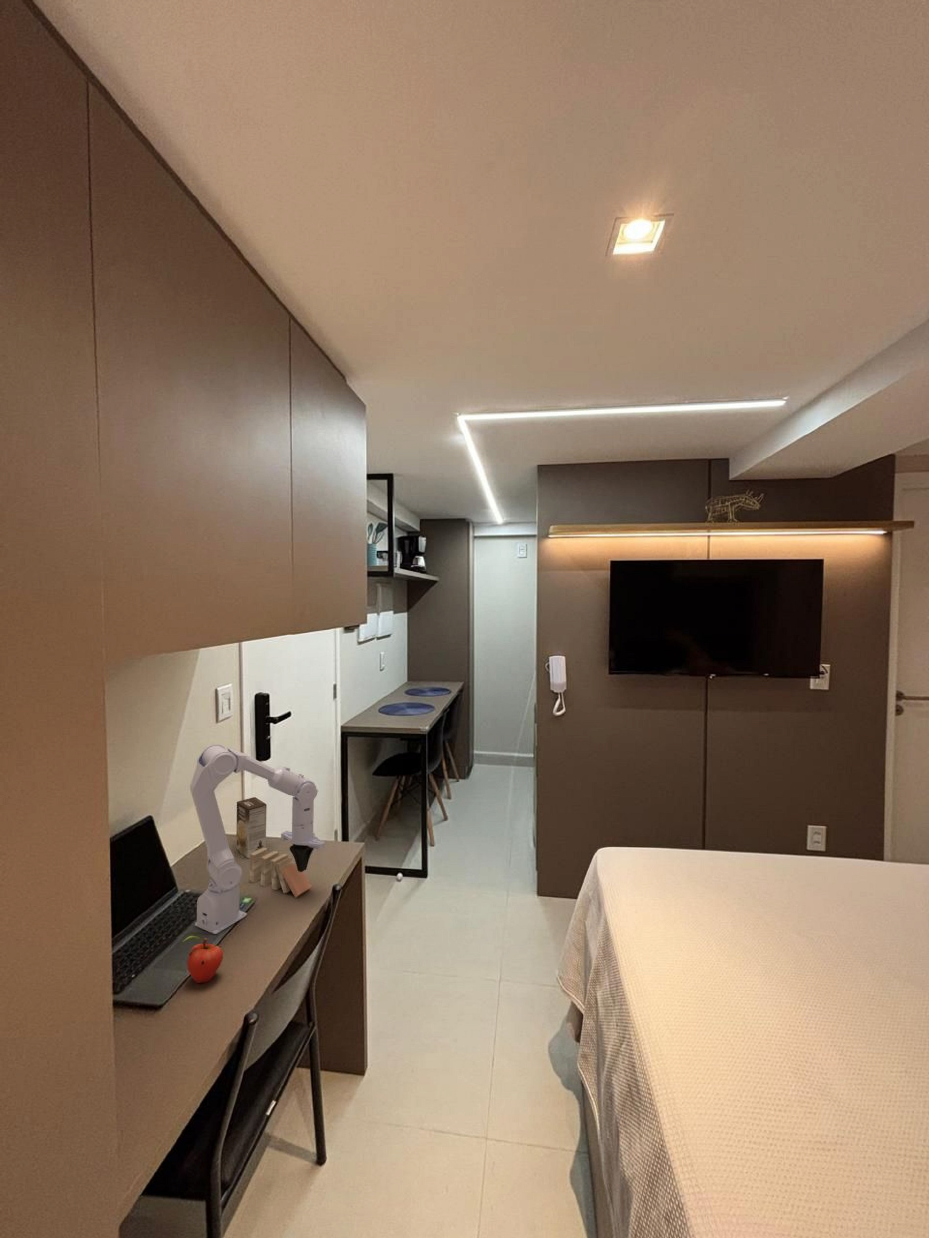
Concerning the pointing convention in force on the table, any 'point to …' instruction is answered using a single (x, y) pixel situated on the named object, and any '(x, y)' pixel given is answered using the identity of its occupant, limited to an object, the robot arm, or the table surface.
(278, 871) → the cream domino
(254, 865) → the cream domino
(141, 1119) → the table surface
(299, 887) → the terracotta domino
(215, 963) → the apple
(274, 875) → the cream domino
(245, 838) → the coffee box
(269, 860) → the cream domino
